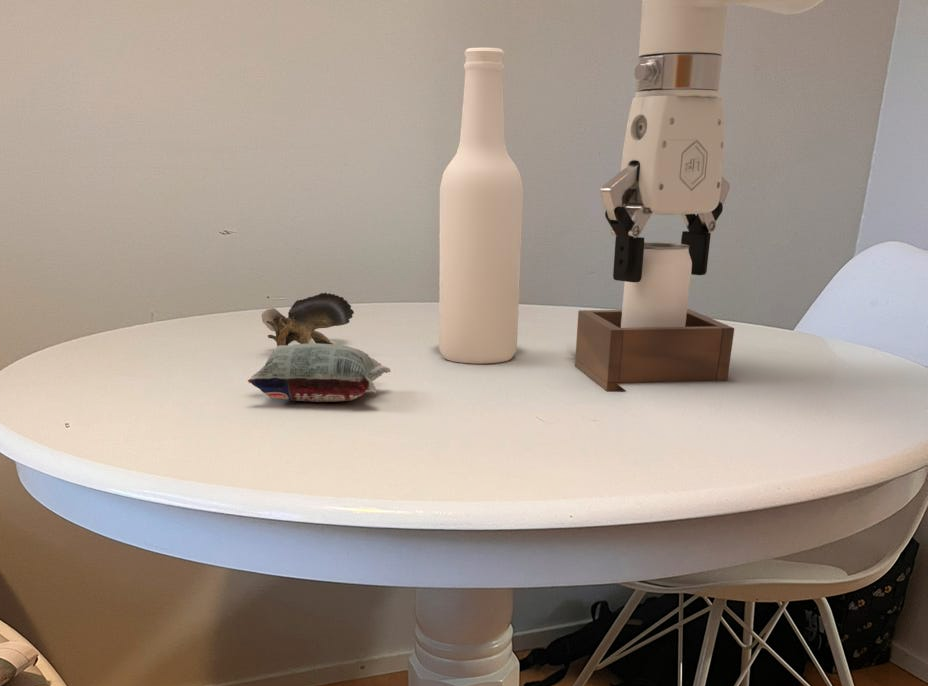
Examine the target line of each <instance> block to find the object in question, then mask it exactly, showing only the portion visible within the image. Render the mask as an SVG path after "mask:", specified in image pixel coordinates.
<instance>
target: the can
mask: <svg viewBox="0 0 928 686" xmlns="http://www.w3.org/2000/svg"><path fill="white" fill-rule="evenodd" d="M689 248H690V246H689V245H685V244H681V243H677V242H676V243H675V242H644V254H643V266H642V278H641V280H640V282H626V281H624V285H623V297H622V307H621V310H622V318H621V328H643V327H685V324H686V315H687V309H688V306H689V298H690V297H689V296H690V288H691V280H692V279H691V278H692V274H691V270H692V261H691V257H690V255H689Z"/></svg>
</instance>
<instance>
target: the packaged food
mask: <svg viewBox="0 0 928 686" xmlns="http://www.w3.org/2000/svg"><path fill="white" fill-rule="evenodd" d="M388 373H391V369H390V367H387V366H384V365H382V363H380V362H378V360H376V359H375V358H372V357H370V356H369V355H368V353H366V352H365V351H363V350H361V349H358V348H355V347H351V346H348V345H343V344H335V343H333V344H319V343H307V344H300V343H297V344H288V345H281V346H278V347H277V346H276V347H275V349H274V350H273V351H272V353H271V354H270V356H269V357H268V359H267V360H266V362H265V364H264V365H263V366H262V367H261V368H260V369H259V370H258V371H256V372H255V373H254V374H253V375H252V376H251V377H250V378H249V379H248V380H247V382H248V384H251V385H252V386H253V387H255V388H257V389H259V390H260V391H261V392H262V393H263V394H265V395H266V396H268V397H269V398H271V399H275V400H284V401H293V402H294V401H295V402H307V403H308V402H310V403H330V402H331V403H332V402H333V403H334V402H335V403H336V402H351V401H354V400H357V399H358V398H359V397H361V396H363V395H364V394H365V393H366V392H367V391H370V392H373V393H375V394H377V391H378V390H377V388H376V386H375V384H374V381H375V380H377V379H378V378H380V377H382V376H383V374H388Z"/></svg>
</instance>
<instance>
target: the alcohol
mask: <svg viewBox="0 0 928 686" xmlns="http://www.w3.org/2000/svg"><path fill="white" fill-rule="evenodd" d="M463 55H464V57H465V63H464V64H463V69H464V70H465V73H464V84H463V85H464V86H463V98H462V111H461V123H460V135H459V143H458V146H457V150H456V153H455V155H454V156H453V158H451V160H450V161H449V163H448V164H447V166H446V168H445V169H444V171H443V172H442V177H441V181H440V186H439V272H438V273H439V277H438V279H439V282H438V283H439V284H438V285H439V287H438V288H439V295H438V297H439V299H438V300H439V302H438V303H439V304H438V310H439V312H438V316H439V319H438V321H439V323H438V325H439V326H438V327H439V329H438V335H439V336H438V348H439V351H440V352H441V355H442V356H443V358H444V359H445V360H448V361H451V362H455V363H461V364H471V365H472V364H474V365H475V364H476V365H479V364H480V365H481V364H483V365H485V364H499V363H505V362H508V361H510V360H512V359H513V357H514V356H515V354H516V352H517V350H518V335H519V333H518V329H519V308H520V307H519V304H520V282H521V254H522V233H523V232H522V228H523V206H524V205H523V204H524V203H523V200H524V188H523V187H524V186H523V182H522V176H521V172H520V171H519V168H518V167H517V165H516V163H515V162H514V161H513V159H512V158H511V157H510V155H509V151H508V149H507V145H506V133H505V108H504V107H505V105H504V83H503V82H504V80H503V70H504V69H505V64H504V63H503V59H504V56H505V51H504V50H503V49H502V48H499V47H469V48H466V49H465V51H464V53H463Z"/></svg>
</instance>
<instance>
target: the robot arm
mask: <svg viewBox="0 0 928 686" xmlns="http://www.w3.org/2000/svg"><path fill="white" fill-rule="evenodd" d="M824 1H825V0H641V14H640V15H641V16H640V29H639V30H640V31H639V43H638V44H639V45H638V58H637V65H636V67H635V68H634V78H635V79H636V84H635V97H633V98H632V100H631V105H630V108H629V114H628V117H627V124H626V129H625V135H624V140H623V141H624V142H623V148H622V156H621V164H620V172H618V173H617V174H616V175H614V176H613V177H612V178H611V179H610V180H608V181H607V182H606V183H605V184H604V185H602V186H601V188H600V196H601V199H602V200H601V201H602V203H603V207H604V210H605V212H604V216H605V219H606V220H607V222H608V224H609V226H610V234H611V235H612V236H613V237H615V242H614V256H613V257H614V258H613V270H612V271H613V272H612V278H613V280H614V281H617V282H618V281H620V282H625V281H626V282H640V280H641V278H642V266H643V254H644V243H645V237H642V236H641V233H642V232H643V230H644V229H645V226H646V225H647V224H648V221H649V220H650V218H651V216H652V215H653V214H655V215H658V216H681V218H682V220H683V222H684V224H685V227H686V229H687V230H683V231H682V233H681V238H680V244H685V245H689V246H690V248H689V255H690V257H691V261H692V270H691V276H692V275H693V276H705V275H706V274H707V272H708V264H709V263H708V261H709V254H710V253H709V252H710V245H711V236H712V235H711V233H713V232H715V230H716V228H717V222H716V221H718V219H719V218H720V216H721V215H722V214H723V211H724V206H723V205H724V203H725V202H726V199H727V197H728V194H729V192H730V188H731V186H730V182H728V181H727V180H726V179H725V178H724V177H723V165H724V142H725V141H724V139H725V137H724V136H725V135H724V134H725V132H724V131H725V128H724V127H725V126H724V125H725V123H724V108H723V100H722V97H719V89H720V80H721V70H722V62H723V61H722V60H723V51H724V41H725V32H726V22H727V13H728V5H738V6H743V7H748V8H751V9H752V8H754V9H758V10H764V11H767V12H772V13H776V14H779V15H785V16H787V15H788V16H791V15H798V14H802V13H804V12H807V11H809V10H811V9H814V8H815V7H816V6H818V5H819V4H821V3H822V2H824ZM633 217H634V218H633ZM632 218H633V219H632Z"/></svg>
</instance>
